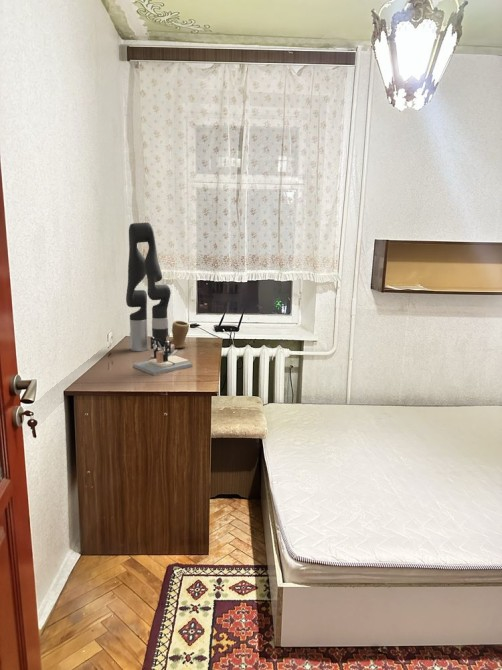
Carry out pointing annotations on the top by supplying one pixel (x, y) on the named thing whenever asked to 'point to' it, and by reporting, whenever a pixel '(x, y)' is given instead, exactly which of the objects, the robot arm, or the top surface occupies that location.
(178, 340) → the brown hollow piece
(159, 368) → the board
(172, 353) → the packaged product
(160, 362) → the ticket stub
